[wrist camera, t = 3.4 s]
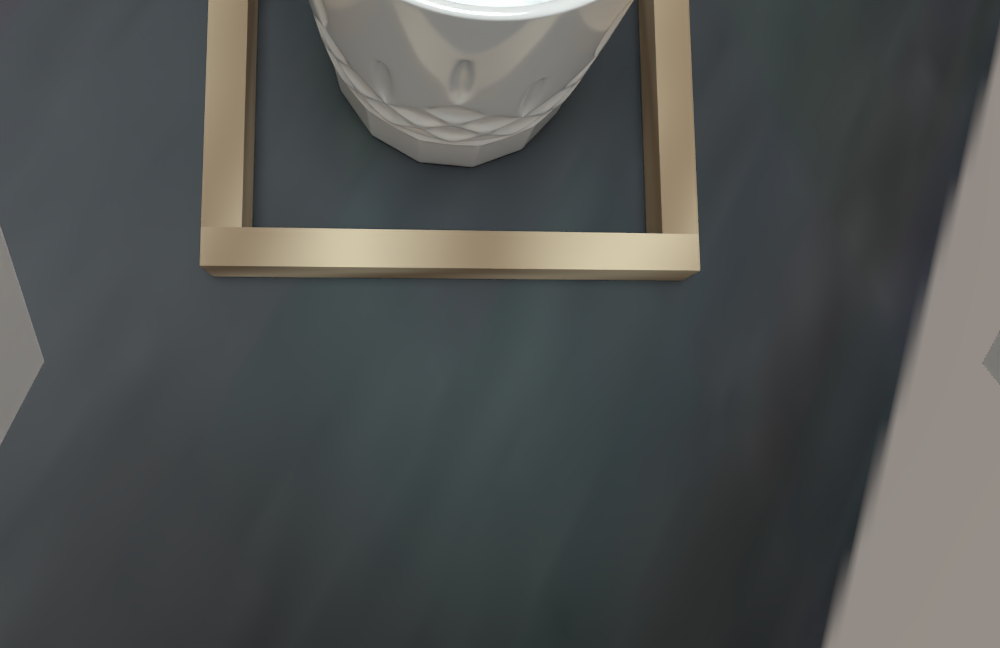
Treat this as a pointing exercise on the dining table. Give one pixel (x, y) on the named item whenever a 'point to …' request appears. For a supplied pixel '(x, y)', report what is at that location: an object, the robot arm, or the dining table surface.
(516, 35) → the white cup
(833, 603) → the dining table surface
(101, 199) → the dining table surface
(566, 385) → the dining table surface
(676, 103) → the tan flat square frame
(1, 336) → the robot arm
